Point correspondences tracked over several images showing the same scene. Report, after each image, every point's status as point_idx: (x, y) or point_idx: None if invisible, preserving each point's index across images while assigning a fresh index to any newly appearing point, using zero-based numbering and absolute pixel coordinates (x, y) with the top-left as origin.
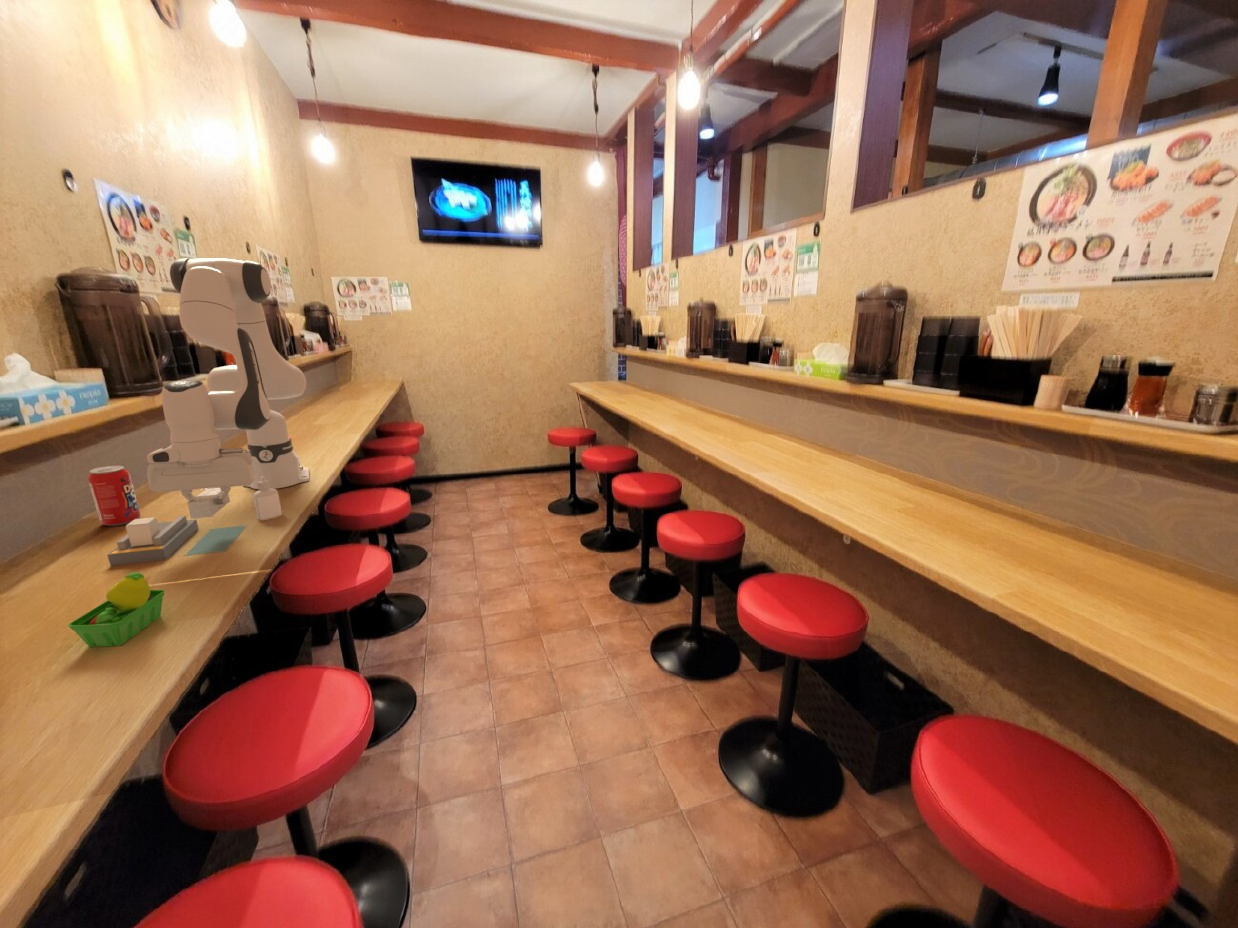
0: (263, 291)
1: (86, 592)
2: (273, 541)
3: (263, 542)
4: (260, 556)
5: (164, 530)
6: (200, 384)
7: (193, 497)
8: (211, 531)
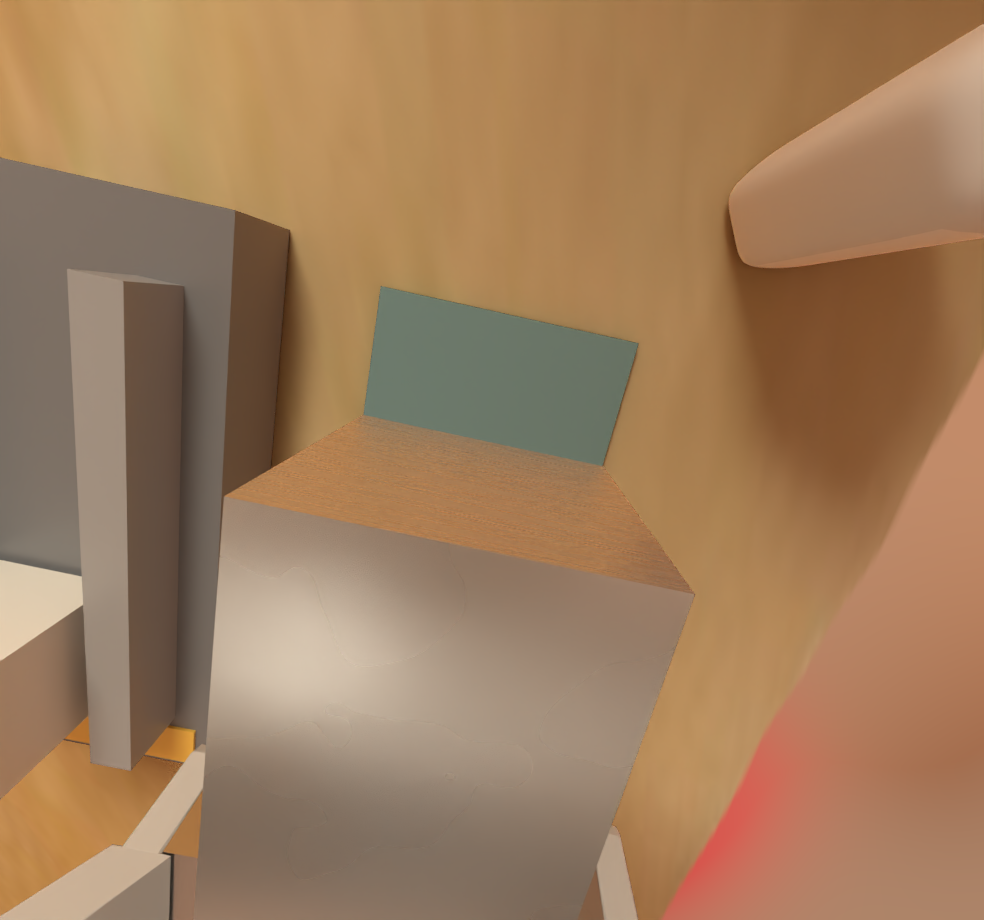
0: None
1: (55, 856)
2: (762, 712)
3: (709, 699)
4: (677, 856)
5: (102, 639)
6: None
7: (134, 916)
8: (395, 354)
